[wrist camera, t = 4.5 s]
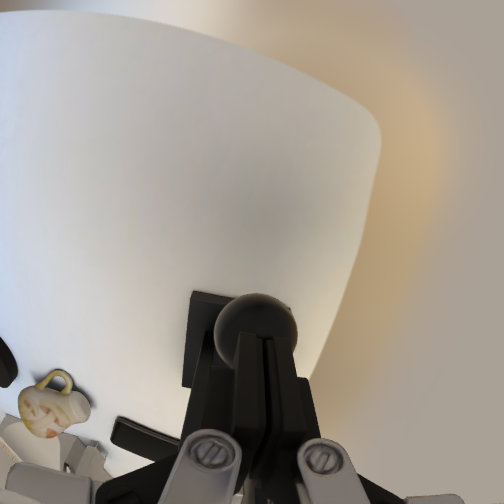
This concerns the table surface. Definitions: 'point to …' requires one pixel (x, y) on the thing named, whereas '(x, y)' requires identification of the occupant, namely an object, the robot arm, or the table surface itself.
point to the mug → (52, 407)
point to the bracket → (205, 370)
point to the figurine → (6, 366)
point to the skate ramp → (53, 451)
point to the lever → (252, 330)
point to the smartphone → (142, 441)
